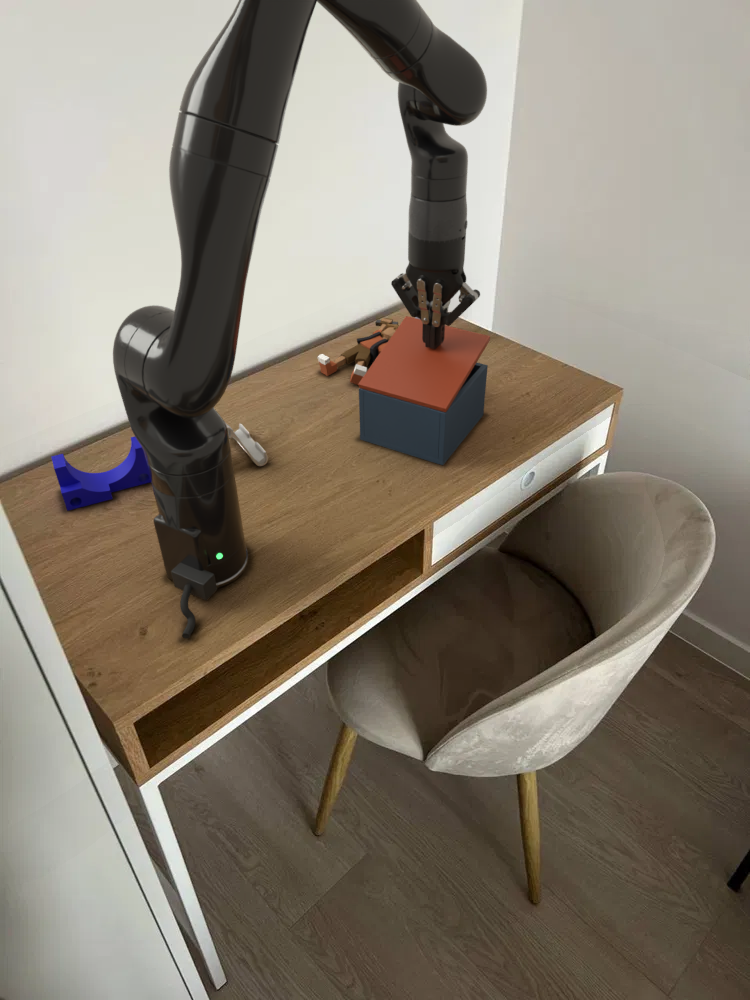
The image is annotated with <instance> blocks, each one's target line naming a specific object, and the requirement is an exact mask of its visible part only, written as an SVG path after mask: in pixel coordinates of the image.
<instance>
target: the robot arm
mask: <svg viewBox="0 0 750 1000" xmlns="http://www.w3.org/2000/svg"><path fill="white" fill-rule="evenodd" d="M317 3H318V4H319V5H320V6H321V7H322V8H323V9H324V10H325V11H326V12H327V13H328V14H330V15H331V17H332V18H333V19H334V20H336V21H337V22H338V23H339V24H340V25H341V27H343V28H344V29H345V30H346V32H347V33H348V34H349V35H350V36H351V37H352V38H353V39H354V40H355V41H356V42H357V43H358V45H359V46H360V47H361V48H362V49H363V51H365V52H366V54H367V55H368V56H369V57H370V58H371V59H372V60H373V61H374V63H375V64H376V65H377V66H378V67H379V68H380V69H381V70H382V71H383V72H384V74H385V75H387V76H388V77H389V78H391V79H392V80H394V81H395V82H398V83H397V101H398V109H399V114H400V119H401V123H402V127H403V131H404V135H405V139H406V143H407V148H408V151H409V155H410V156H409V157H410V160H411V162H410V163H411V164H410V165H411V166H410V167H411V169H410V197H409V205H408V226H407V227H408V232H407V234H408V235H407V237H408V238H407V260H408V264H407V266H406V268H405V272H404V273H403V272H402V273H400V274H398V275H397V276H396V277H395V278H394V279H393V280H391V282H390V284H391V287H392V288H393V290H394V291H395V293H396V294H397V296H398V298H399V299H400V301H401V302H402V304H403V305H404V307H405V309H406V310H407V312H408V313H409V315H410V317H413V318H415V317H417V318H419V319H420V320H421V321H422V323H423V329H422V340H423V343H425V347H428V348H432V349H436V348H437V347H438V346H440V345H441V344H442V343H443V341H444V335H445V325H446V326H450V327H451V326H452V324H453V323H454V322H455V321H456V320H458V318H460V317H461V316H462V314H463V313H465V312H466V311H467V310H468V309H469V308H470V307H471V306H472V305H473V304H474V303H475V302H476V301H477V300H478V299H479V298H480V297H481V292H480V291H479V290H478V289H472V288H471V287H470V286H469V284H468V283H467V275H466V273H465V270H464V269H465V268H464V267H465V257H466V238H467V228H468V201H467V187H468V186H467V185H468V167H469V155H468V151H467V149H466V147H465V146H464V144H462V143H460V142H459V141H458V140H456V139H454V138H453V137H452V136H451V135H450V134H448V133H447V130H446V128H445V125H449V126H454V127H461V126H465V125H469V124H470V123H472V122H474V121H476V119H477V118H478V117H479V116H480V114H481V113H482V112H483V110H484V108H485V105H486V103H487V102H486V101H487V98H488V97H487V96H488V84H487V78H486V75H485V72H484V70H483V67H482V66H481V65H480V63H479V62H478V61H477V59H476V58H475V57H474V55H473V54H472V53H470V52H469V51H468V50H467V49H466V48H465V47H463V46H462V45H461V44H460V43H458V42H457V41H456V40H455V39H453V38H452V37H451V36H450V35H448V34H447V33H445V31H443V30H441V29H440V28H438V26H436V25H435V24H434V23H433V21H432V19H431V18H430V16H429V15H428V13H426V11H425V9H424V8H423V7H422V5H420V3H419V2H418V0H238V1H237V3H236V6H235V7H234V9H233V12H232V13H231V14H230V16H229V18H228V19H227V20H226V22H225V24H224V26H223V27H222V29H221V30H220V32H219V33H218V35H216V37H215V39H214V40H213V42H212V44H211V45H210V46H209V48H208V49H207V50H206V52H205V53H204V54H203V56H202V58H201V59H200V60H199V63H198V64H197V66H196V67H195V69H194V71H193V73H192V74H191V76H190V78H189V79H188V82H187V84H186V86H185V88H184V91H183V94H182V97H181V101H180V106H179V112H178V115H177V119H176V125H175V130H174V135H173V138H172V139H173V140H172V144H171V145H172V146H171V150H170V156H169V163H168V164H169V167H168V178H169V179H168V180H169V190H170V196H171V204H172V209H173V214H174V220H175V225H176V232H177V237H178V243H179V250H180V278H179V287H178V292H177V297H176V302H175V307H174V309H173V308H170V307H168V306H164V305H159V304H158V305H157V304H156V305H155V304H153V305H146V306H142V307H140V308H137V309H136V310H134V311H132V312H131V313H129V314H128V315H127V317H125V319H124V320H122V322H121V324H120V325H119V327H118V329H117V332H116V334H115V337H114V341H113V345H112V364H113V371H114V375H115V379H116V382H117V386H118V390H119V393H120V397H121V400H122V405H123V407H124V410H125V414H126V417H127V420H128V423H129V426H130V430H131V431H132V433H133V435H134V436H135V437H136V439H137V440H138V442H139V443H140V445H141V446H142V448H143V450H144V453H145V457H146V461H147V466H148V470H149V474H150V478H151V482H150V483H151V486H152V491H153V495H154V499H155V503H156V508H157V513H158V514H157V515H156V516H155V517H154V518H153V526H154V528H155V533H156V538H157V542H158V546H159V550H160V553H161V558H162V562H163V565H164V569H165V574H166V577H167V579H169V580H172V581H173V584H174V588H176V589H179V590H181V591H182V593H181V597H180V602H179V603H180V604H179V606H180V611H181V613H182V615H183V616H184V617H185V618H186V620H187V623H186V626H185V628H184V629H183V632H182V634H181V636H182V638H183V639H190V638H191V635H192V634H193V632H194V630H195V627H196V617H195V614H194V613H193V612H192V610H191V609H190V607H189V600H190V596H191V595H192V596H195V597H197V598H199V599H202V600H204V601H208V600H209V599H210V598H211V597H212V596H213V595H214V594H215V593H216V592H217V591H218V589H219V588H222V587H224V586H227V585H230V584H232V583H233V582H234V581H236V580H237V579H238V578H240V577H241V576H242V574H244V572H245V570H246V569H247V568H248V563H249V552H248V549H247V546H246V538H245V531H244V525H243V520H242V514H241V513H242V512H241V507H240V500H239V495H238V494H239V493H238V487H237V482H236V476H235V467H234V461H233V455H232V449H231V442H230V441H231V440H230V439H229V434H228V430H227V426H226V424H225V422H226V421H225V420H224V419H223V417H222V416H221V415H220V413H219V412H218V411H217V410H216V408H215V406H216V405H218V403H219V402H220V400H221V399H222V397H223V395H224V394H225V392H226V390H227V388H228V385H229V383H230V381H231V377H232V375H233V374H232V373H233V371H234V365H235V360H236V353H237V348H238V340H239V333H240V326H241V319H242V313H243V312H242V311H243V304H244V299H245V297H244V296H245V291H246V285H247V279H248V274H249V269H250V266H251V265H250V264H251V260H252V256H253V251H254V248H255V247H254V246H255V242H256V238H257V232H258V228H259V223H260V219H261V214H262V210H263V206H264V202H265V199H266V195H267V193H268V188H269V185H270V181H271V177H272V173H273V170H274V164H275V161H276V157H277V152H278V149H279V144H280V140H281V137H282V136H281V135H282V131H283V126H284V120H285V116H286V112H287V107H288V104H289V99H290V96H291V92H292V88H293V84H294V81H295V77H296V73H297V70H298V65H299V62H300V59H301V54H302V51H303V48H304V47H303V46H304V43H305V40H306V37H307V32H308V29H309V26H310V23H311V20H312V17H313V14H314V10H315V7H316V5H317ZM458 292H459V295H458V302H459V303H458V305H456V306H455V308H454V309H453V310H451V311H449V307H450V305H451V301H452V299H453V298H454V297H455V296H456V295H457V293H458ZM224 421H225V422H224Z"/></svg>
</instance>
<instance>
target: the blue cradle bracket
mask: <svg viewBox="0 0 750 1000" xmlns="http://www.w3.org/2000/svg"><path fill="white" fill-rule="evenodd" d="M130 440H131V441H130V443H131V444H130V449H129V452H128V454H127V456H126V458H124V460H123V461H122V462H121V463H119V464H118V465H117V466H116V467H113V468H111V469H109V470H106V471H102V472H87V471H82V470H80V469H78V468H76V467H74V466H72V464H70V462H68V460H67V459H66V457H65V455H64V453H60V454H56V455H51V461H52V464H53V471H54V474H55V476H56V479H57V482H58V484H59V485H58V486H59V488H60V493H61V497H62V500H63V502H64V506H65V508H66V511H67V512H68V511H72V510H75V509H80V508H84V507H87V506H91V505H95V504H99V503H102V502H106V501H111V500H113V495H112V493H115V492H119V491H122V490H127V489H130V488H135V487H138V486H142V485H146V484H150V483H151V478H150V474H149V470H148V466H147V461H146V457H145V453H144V450H143V448H142V446H141V445H140V443H139V442H138V440H137V439H136V437H135V435H134V436H130Z"/></svg>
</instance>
